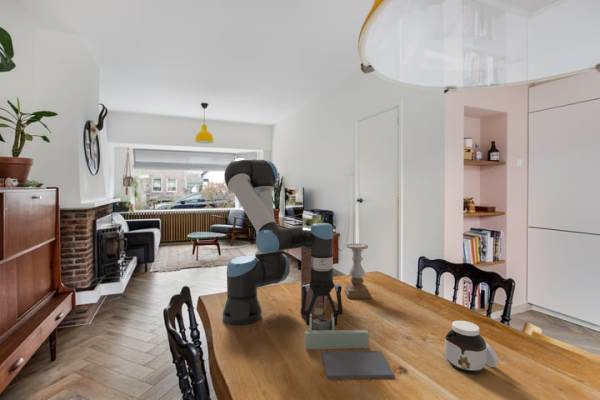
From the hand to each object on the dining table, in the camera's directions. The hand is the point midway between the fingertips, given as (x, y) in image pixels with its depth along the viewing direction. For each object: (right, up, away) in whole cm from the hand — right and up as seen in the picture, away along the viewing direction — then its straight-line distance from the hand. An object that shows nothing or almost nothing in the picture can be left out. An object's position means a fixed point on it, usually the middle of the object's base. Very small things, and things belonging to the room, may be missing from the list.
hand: (321, 333), depth 103 cm
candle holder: (+20, +1, +40) cm, 45 cm away
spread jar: (+42, -1, -18) cm, 45 cm away
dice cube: (0, 0, 0) cm, 1 cm away
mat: (+9, -1, -18) cm, 20 cm away
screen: (+4, -1, -8) cm, 9 cm away
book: (-1, 0, +27) cm, 27 cm away
